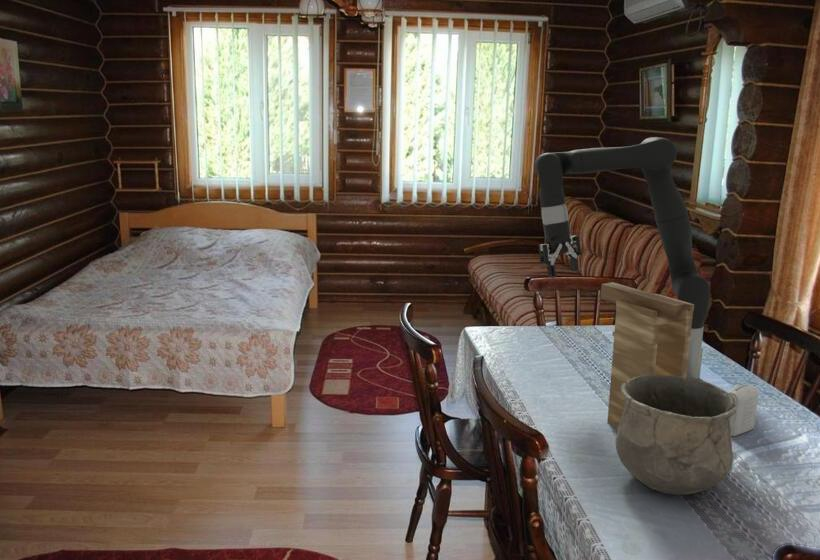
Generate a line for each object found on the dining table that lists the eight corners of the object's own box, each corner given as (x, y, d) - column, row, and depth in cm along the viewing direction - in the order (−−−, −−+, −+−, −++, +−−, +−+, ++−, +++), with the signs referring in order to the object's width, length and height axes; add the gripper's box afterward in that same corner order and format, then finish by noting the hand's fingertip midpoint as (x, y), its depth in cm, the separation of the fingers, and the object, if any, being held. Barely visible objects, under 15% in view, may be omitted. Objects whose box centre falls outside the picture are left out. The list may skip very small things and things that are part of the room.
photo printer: (741, 422, 183) (746, 379, 180) (756, 428, 179) (762, 384, 176) (718, 432, 177) (723, 387, 174) (733, 438, 174) (739, 393, 171)
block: (611, 296, 184) (612, 282, 183) (686, 319, 163) (687, 303, 162) (600, 298, 182) (601, 283, 181) (674, 322, 161) (676, 305, 161)
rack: (644, 411, 189) (655, 293, 181) (681, 428, 179) (694, 304, 171) (606, 422, 182) (616, 300, 174) (642, 440, 172) (654, 312, 164)
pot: (753, 504, 144) (766, 410, 139) (657, 522, 138) (667, 423, 133) (676, 450, 167) (685, 367, 162) (591, 463, 161) (597, 377, 156)
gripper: (564, 216, 210) (572, 268, 212) (528, 225, 203) (537, 279, 205) (582, 215, 203) (589, 269, 205) (545, 225, 196) (554, 280, 199)
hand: (563, 274), depth 205 cm, fingers open, 8 cm apart
